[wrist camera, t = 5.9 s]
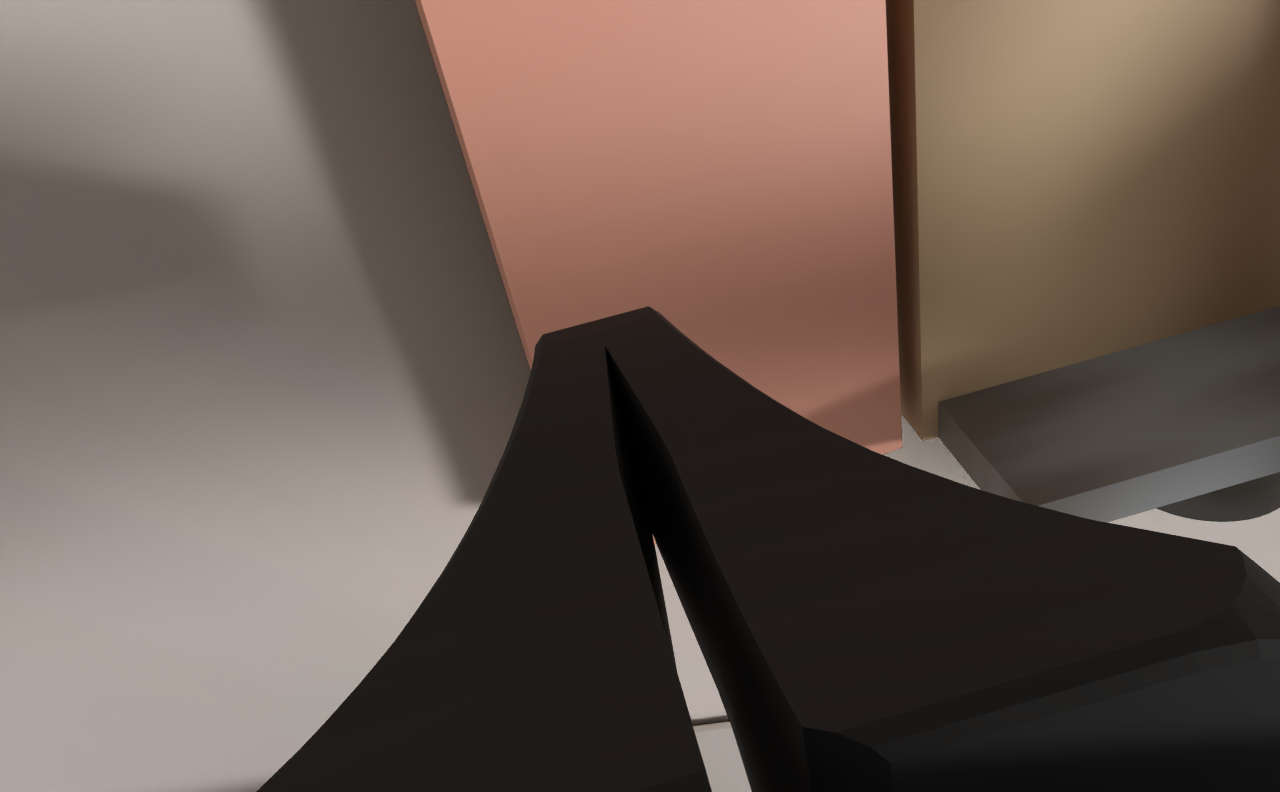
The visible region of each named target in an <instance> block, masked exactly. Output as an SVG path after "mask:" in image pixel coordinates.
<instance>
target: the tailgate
mask: <svg viewBox="0 0 1280 792" xmlns="http://www.w3.org/2000/svg"><path fill="white" fill-rule="evenodd" d="M415 2H416V6H417V9H418V12H419V15H420V18H421V22H422V25H423V28H424V31H425V34H426V37H427V41H428V44H429V47H430V50H431V53H432V57H433V60H434V63H435V66H436V69H437V73H438V76H439V79H440V82H441V85H442V89H443V92H444V95H445V98H446V101H447V105H448V108H449V111H450V114H451V117H452V121H453V124H454V127H455V130H456V133H457V137H458V140H459V143H460V146H461V149H462V153H463V156H464V159H465V162H466V165H467V169H468V172H469V175H470V178H471V181H472V185H473V188H474V191H475V194H476V197H477V201H478V204H479V207H480V210H481V213H482V216H483V220H484V223H485V226H486V229H487V232H488V236H489V239H490V242H491V245H492V248H493V252H494V255H495V258H496V261H497V264H498V268H499V271H500V274H501V277H502V280H503V284H504V287H505V290H506V293H507V296H508V300H509V303H510V306H511V309H512V312H513V316H514V319H515V322H516V325H517V328H518V332H519V335H520V338H521V341H522V344H523V348H524V351H525V354H526V357H527V360H528V364H529V367H530V370H531V369H532V364H533V359H534V352H535V345H536V344H537V342H538V341H539V339H540V338H541V336H542V335H543V334H546V333H550V332H554V331H557V330H561V329H565V328H569V327H572V326H576V325H580V324H584V323H587V322H591V321H595V320H599V319H602V318H606V317H610V316H614V315H617V314H621V313H625V312H629V311H632V310H636V309H640V308H644V307H647V306H649V307H651V308H653V309H654V310H656V311H658V312H659V313H661V314H662V315H663V316H664V317H665V318H666V319H667V320H668V321H669V322H670V323H671V324H673V325H674V326H675V327H676V328H677V329H678V330H679V331H681V332H682V333H683V334H684V335H685V336H686V337H688V338H689V339H690V340H691V341H693V342H694V343H695V344H696V345H698V346H699V347H700V348H701V349H703V350H704V351H705V352H706V353H708V354H709V355H710V356H712V357H713V358H714V359H716V360H717V361H718V362H720V363H721V364H722V365H724V366H725V367H727V368H728V369H730V370H731V371H732V372H734V373H735V374H737V375H738V376H740V377H741V378H742V379H744V380H745V381H747V382H748V383H750V384H751V385H752V386H754V387H755V388H757V389H758V390H760V391H762V392H763V393H765V394H766V395H768V396H769V397H771V398H772V399H774V400H776V401H777V402H779V403H781V404H782V405H784V406H786V407H787V408H789V409H791V410H792V411H794V412H796V413H798V414H799V415H801V416H803V417H804V418H806V419H808V420H810V421H812V422H813V423H815V424H817V425H819V426H821V427H823V428H825V429H827V430H829V431H831V432H833V433H835V434H837V435H840V436H842V437H844V438H846V439H848V440H850V441H853V442H855V443H857V444H859V445H861V446H863V447H865V448H868V449H870V450H872V451H874V452H877V453H879V454H881V455H883V454H886V453H888V452H891V451H894V450H896V449H899V448H901V447H902V427H901V400H900V373H899V347H898V320H897V293H896V267H895V240H894V213H893V187H892V160H891V133H890V107H889V80H888V53H887V27H886V0H415ZM653 539H654V536H653ZM655 544H656V541H655V539H654V545H655Z"/></svg>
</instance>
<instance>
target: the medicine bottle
mask: <svg viewBox="0 0 1280 792" xmlns="http://www.w3.org/2000/svg"><path fill="white" fill-rule="evenodd" d="M693 728H694V732H695V735H696V739H697V742H698V745H699V749H700V752H701V755H702V759H703V762H704V765H705V769H706V772H707V776H708V779H709V783H710V786H711V790H712V792H752V791H751V787H750V784H749V781H748V778H747V775H746V771H745V768H744V765H743V762H742V759H741V755H740V752H739V749H738V746H737V742H736V739H735V736H734V733H733V730H732V727H731V724H730V721H728V722H720V723H713V724H705V725H697V726H693Z"/></svg>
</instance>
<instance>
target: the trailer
mask: <svg viewBox="0 0 1280 792" xmlns="http://www.w3.org/2000/svg"><path fill="white" fill-rule="evenodd" d="M886 27H887V53H888V80H889V107H890V133H891V160H892V187H893V213H894V240H895V267H896V293H897V320H898V347H899V373H900V400H901V414H902V415H903V416H904V417H905V419H906V420H907V421H908V423H909V424H910V425H911V426H912V428H913V429H914V430H915V432H916V433H917V434H918V435H919V437H920V438H921V439H922V441H925V440H929V439H932V438H936V437H939V438H940V439H941V441H942V442H943V443H944V444H945V446H946V447H947V448H948V449H949V451H950V452H951V453H952V454H953V456H954V457H955V458H956V459H957V461H958V462H959V463H960V464H961V466H962V467H963V468H964V469H965V471H966V472H967V473H968V474H969V476H970V477H971V478H972V479H973V481H974V482H975V483H976V484H977V485H978V487H979V488H980V489H981V490H982V491H986V492H989V493H992V494H996V495H999V496H1002V497H1006V498H1009V499H1013V500H1016V501H1020V502H1024V503H1028V504H1032V505H1036V506H1040V507H1044V508H1048V509H1051V510H1055V511H1059V512H1063V513H1067V514H1071V515H1075V516H1079V517H1083V518H1087V519H1092V520H1096V521H1101V522H1110V521H1113V520H1117V519H1120V518H1123V517H1127V516H1130V515H1134V514H1137V513H1141V512H1144V511H1147V510H1151V509H1154V508H1157V509H1159V510H1162V511H1165V512H1167V513H1170V514H1174V515H1177V516H1181V517H1185V518H1190V519H1196V520H1204V521H1217V522H1228V521H1240V520H1248V519H1252V518H1256V517H1260V516H1263V515H1266V514H1268V513H1271V512H1273V511H1274V510H1276V509H1278V508H1280V0H886Z"/></svg>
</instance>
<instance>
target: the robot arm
mask: <svg viewBox="0 0 1280 792" xmlns="http://www.w3.org/2000/svg"><path fill="white" fill-rule="evenodd" d="M653 536H654V539H655V541H656V544H657V546H658V548H659V551H660V553H661V556H662V558H663V560H664V563H665V565H666V568H667V570H668V572H669V575H670V577H671V579H672V582H673V584H674V587H675V589H676V591H677V594H678V596H679V599H680V601H681V603H682V606H683V608H684V610H685V613H686V615H687V618H688V620H689V622H690V625H691V627H692V629H693V632H694V634H695V637H696V639H697V641H698V644H699V646H700V649H701V651H702V653H703V656H704V658H705V660H706V663H707V665H708V668H709V670H710V672H711V675H712V677H713V679H714V682H715V684H716V687H717V689H718V691H719V694H720V697H721V700H722V702H723V705H724V708H725V710H726V713H727V716H728V718H729V721H730V724H731V727H732V730H733V733H734V736H735V739H736V742H737V746H738V749H739V752H740V755H741V759H742V762H743V765H744V768H745V771H746V775H747V778H748V781H749V784H750V787H751V791H752V792H1280V583H1279V582H1278V581H1277V580H1276V579H1274V578H1273V577H1272V576H1271V575H1270V574H1268V573H1267V572H1266V571H1265V570H1264V569H1262V568H1261V567H1260V566H1259V565H1258V564H1256V563H1255V562H1254V561H1253V560H1251V559H1250V558H1249V557H1248V556H1246V555H1245V554H1244V553H1243V552H1241V551H1240V550H1239V549H1238V548H1237V547H1235V546H1229V545H1224V544H1219V543H1213V542H1208V541H1203V540H1197V539H1192V538H1187V537H1181V536H1176V535H1170V534H1165V533H1160V532H1154V531H1149V530H1144V529H1138V528H1133V527H1128V526H1122V525H1117V524H1111V523H1106V522H1101V521H1096V520H1092V519H1087V518H1083V517H1079V516H1075V515H1071V514H1067V513H1063V512H1059V511H1055V510H1051V509H1048V508H1044V507H1040V506H1036V505H1032V504H1028V503H1024V502H1020V501H1016V500H1013V499H1009V498H1006V497H1002V496H999V495H996V494H992V493H989V492H986V491H982V490H979V489H976V488H972V487H969V486H966V485H963V484H960V483H957V482H954V481H952V480H949V479H946V478H943V477H940V476H937V475H935V474H932V473H929V472H926V471H923V470H921V469H918V468H915V467H912V466H909V465H906V464H904V463H901V462H899V461H896V460H894V459H891V458H889V457H886V456H884V455H881V454H879V453H877V452H874V451H872V450H870V449H868V448H865V447H863V446H861V445H859V444H857V443H855V442H853V441H850V440H848V439H846V438H844V437H842V436H840V435H837V434H835V433H833V432H831V431H829V430H827V429H825V428H823V427H821V426H819V425H817V424H815V423H813V422H812V421H810V420H808V419H806V418H804V417H803V416H801V415H799V414H798V413H796V412H794V411H792V410H791V409H789V408H787V407H786V406H784V405H782V404H781V403H779V402H777V401H776V400H774V399H772V398H771V397H769V396H768V395H766V394H765V393H763V392H762V391H760V390H758V389H757V388H755V387H754V386H752V385H751V384H750V383H748V382H747V381H745V380H744V379H742V378H741V377H740V376H738V375H737V374H735V373H734V372H732V371H731V370H730V369H728V368H727V367H725V366H724V365H722V364H721V363H720V362H718V361H717V360H716V359H714V358H713V357H712V356H710V355H709V354H708V353H706V352H705V351H704V350H703V349H701V348H700V347H699V346H698V345H696V344H695V343H694V342H693V341H691V340H690V339H689V338H688V337H686V336H685V335H684V334H683V333H682V332H681V331H679V330H678V329H677V328H676V327H675V326H674V325H673V324H671V323H670V322H669V321H668V320H667V319H666V318H665V317H664V316H663V315H662V314H661V313H659V312H658V311H656V310H654V309H653V308H651V307H649V306H647V307H644V308H640V309H636V310H632V311H629V312H625V313H621V314H617V315H614V316H610V317H606V318H602V319H599V320H595V321H591V322H587V323H584V324H580V325H576V326H572V327H569V328H565V329H561V330H557V331H554V332H550V333H546V334H543V335H542V336H541V338H540V339H539V341H538V342H537V344H536V345H535V352H534V359H533V364H532V369H531V373H530V377H529V381H528V384H527V388H526V391H525V395H524V398H523V402H522V405H521V408H520V410H519V413H518V416H517V419H516V422H515V425H514V427H513V430H512V433H511V436H510V439H509V442H508V444H507V447H506V449H505V452H504V454H503V456H502V459H501V461H500V463H499V465H498V467H497V470H496V472H495V474H494V476H493V479H492V481H491V483H490V485H489V487H488V490H487V492H486V494H485V496H484V499H483V501H482V503H481V505H480V507H479V509H478V511H477V513H476V514H475V516H474V518H473V520H472V522H471V524H470V526H469V528H468V530H467V531H466V533H465V535H464V537H463V539H462V540H461V542H460V544H459V545H458V547H457V549H456V551H455V552H454V554H453V556H452V557H451V559H450V561H449V562H448V564H447V566H446V567H445V569H444V571H443V572H442V574H441V575H440V577H439V578H438V580H437V581H436V583H435V584H434V586H433V587H432V589H431V590H430V592H429V593H428V595H427V596H426V597H425V599H424V600H423V602H422V603H421V605H420V606H419V608H418V609H417V611H416V612H415V614H414V615H413V617H412V618H411V619H410V621H409V622H408V623H407V625H406V626H405V628H404V629H403V630H402V632H401V633H400V635H399V636H398V637H397V639H396V640H395V641H394V643H393V644H392V645H391V646H390V648H389V649H388V650H387V651H386V653H385V654H384V655H383V656H382V657H381V659H380V660H379V661H378V662H377V664H376V665H375V666H374V667H373V668H372V670H371V671H370V672H369V673H368V674H367V676H366V677H365V678H364V679H363V680H362V682H361V683H360V684H359V685H358V686H357V687H356V689H355V690H354V691H353V692H352V693H351V694H350V695H349V696H348V697H347V699H346V700H345V701H344V702H343V703H342V704H341V705H340V706H339V708H338V709H337V710H336V711H335V712H334V713H333V714H332V715H331V717H330V718H329V719H328V720H327V721H326V722H325V723H324V724H323V725H322V726H321V727H320V729H319V730H318V731H317V732H316V733H315V734H314V735H313V736H312V737H311V738H310V739H309V740H308V741H307V742H306V743H305V744H304V745H303V747H302V748H301V749H300V750H299V751H298V752H297V753H296V754H295V755H294V756H293V757H292V758H291V759H289V760H288V761H287V762H286V763H285V764H284V765H283V766H282V767H281V768H280V769H279V770H278V771H277V772H276V773H275V774H274V775H273V776H272V777H271V778H270V779H269V780H268V781H267V782H266V783H265V784H264V785H263V786H262V787H261V788H260V789H259V790H258V791H257V792H712V790H711V786H710V783H709V779H708V776H707V772H706V769H705V765H704V762H703V759H702V755H701V752H700V749H699V745H698V742H697V739H696V735H695V732H694V728H693V725H692V722H691V718H690V715H689V711H688V708H687V705H686V701H685V698H684V694H683V691H682V688H681V684H680V681H679V677H678V674H677V669H676V663H675V658H674V652H673V646H672V641H671V635H670V629H669V624H668V618H667V612H666V607H665V601H664V595H663V590H662V584H661V578H660V573H659V567H658V562H657V556H656V550H655V545H654V539H653Z"/></svg>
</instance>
